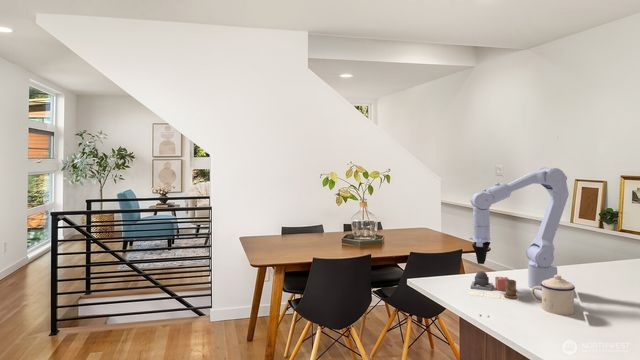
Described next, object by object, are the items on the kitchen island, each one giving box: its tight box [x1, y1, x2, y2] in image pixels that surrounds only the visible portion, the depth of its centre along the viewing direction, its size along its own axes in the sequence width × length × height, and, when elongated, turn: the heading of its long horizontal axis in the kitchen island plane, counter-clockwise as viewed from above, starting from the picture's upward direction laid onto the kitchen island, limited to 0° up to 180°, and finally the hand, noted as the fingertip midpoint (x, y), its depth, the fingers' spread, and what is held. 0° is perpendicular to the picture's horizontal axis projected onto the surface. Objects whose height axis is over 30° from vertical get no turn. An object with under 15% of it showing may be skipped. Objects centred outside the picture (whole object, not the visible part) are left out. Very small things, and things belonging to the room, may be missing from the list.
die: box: [494, 276, 510, 292], centre depth 154 cm, size 4×4×4 cm
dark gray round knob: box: [474, 270, 490, 287], centre depth 157 cm, size 5×5×5 cm
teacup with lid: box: [531, 274, 576, 316], centre depth 133 cm, size 12×9×12 cm
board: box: [468, 280, 519, 301], centre depth 151 cm, size 18×18×2 cm
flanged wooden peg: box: [503, 279, 519, 300], centre depth 145 cm, size 4×4×6 cm
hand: (481, 262), depth 157 cm, fingers open, 3 cm apart
